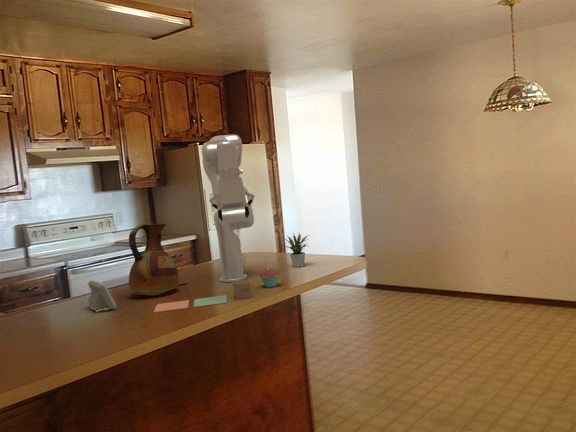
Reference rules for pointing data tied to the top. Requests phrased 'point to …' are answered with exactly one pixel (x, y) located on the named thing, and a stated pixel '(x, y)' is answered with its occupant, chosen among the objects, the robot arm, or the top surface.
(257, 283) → the top surface
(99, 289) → the digital clock
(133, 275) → the ceramic pitcher
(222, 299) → the mat
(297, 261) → the house plant
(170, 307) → the mat
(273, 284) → the cupcake
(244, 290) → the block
